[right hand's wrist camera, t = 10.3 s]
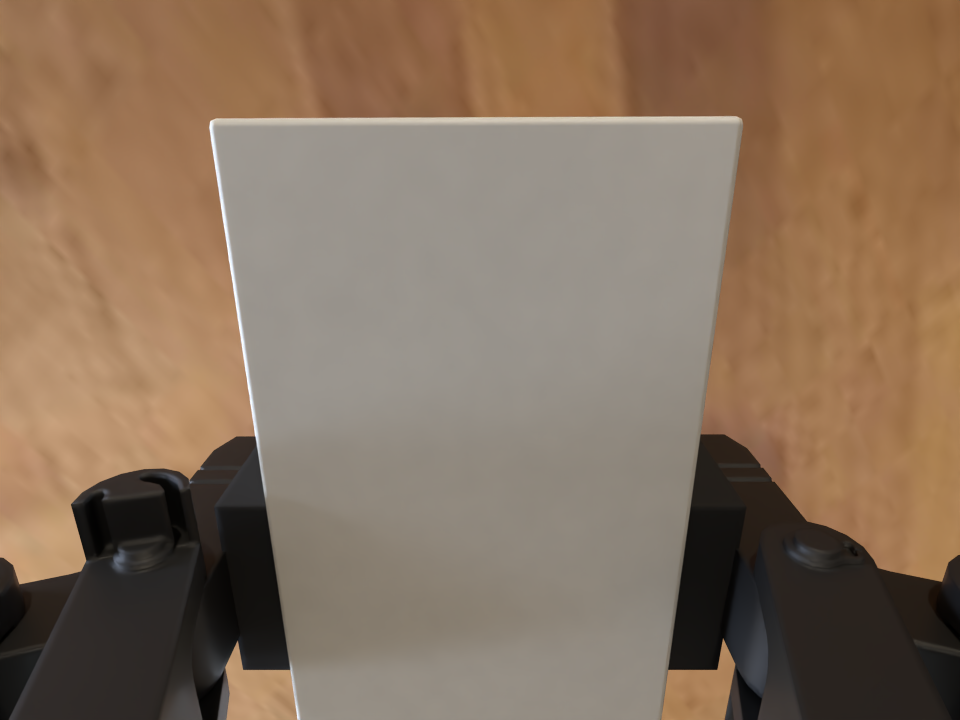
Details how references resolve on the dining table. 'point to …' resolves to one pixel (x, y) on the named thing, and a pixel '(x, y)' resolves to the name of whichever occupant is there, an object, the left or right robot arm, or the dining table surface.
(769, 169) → the dining table surface
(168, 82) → the dining table surface
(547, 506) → the post
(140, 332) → the dining table surface
